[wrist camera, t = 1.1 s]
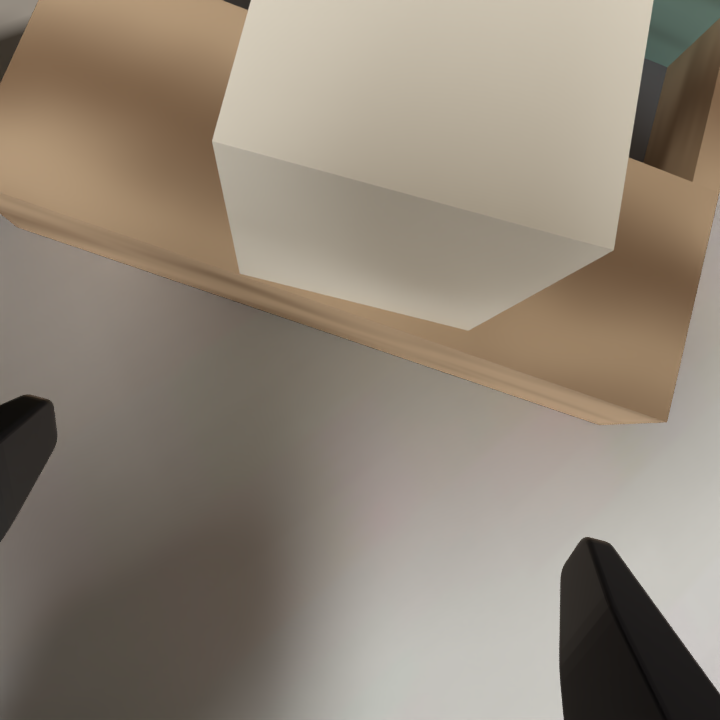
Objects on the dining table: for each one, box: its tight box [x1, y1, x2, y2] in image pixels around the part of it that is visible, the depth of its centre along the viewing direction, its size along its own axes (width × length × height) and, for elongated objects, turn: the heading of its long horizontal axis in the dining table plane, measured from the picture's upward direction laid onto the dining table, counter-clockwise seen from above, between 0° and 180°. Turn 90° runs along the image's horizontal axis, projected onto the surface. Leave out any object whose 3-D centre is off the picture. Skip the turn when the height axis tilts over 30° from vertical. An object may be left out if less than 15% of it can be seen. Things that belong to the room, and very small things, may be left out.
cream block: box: [212, 0, 654, 331], centre depth 15 cm, size 8×7×8 cm
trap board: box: [0, 0, 720, 425], centre depth 22 cm, size 23×22×4 cm
